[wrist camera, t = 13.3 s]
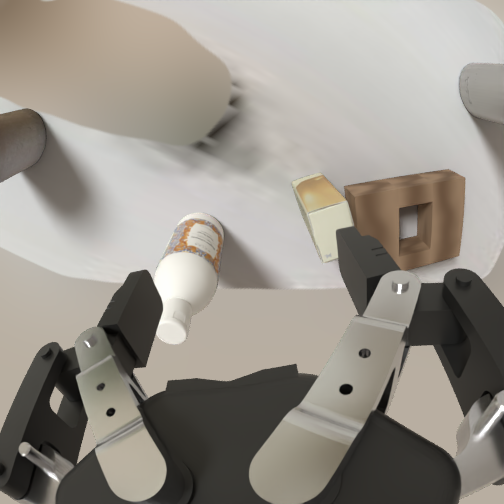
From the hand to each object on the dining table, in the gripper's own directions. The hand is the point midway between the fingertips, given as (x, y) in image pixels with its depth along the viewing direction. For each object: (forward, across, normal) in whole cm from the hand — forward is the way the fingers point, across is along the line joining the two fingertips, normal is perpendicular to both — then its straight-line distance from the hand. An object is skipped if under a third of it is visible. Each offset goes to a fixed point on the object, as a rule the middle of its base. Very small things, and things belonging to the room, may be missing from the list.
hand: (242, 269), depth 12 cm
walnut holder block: (+28, -21, +14) cm, 38 cm away
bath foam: (+28, +9, +10) cm, 31 cm away
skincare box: (+28, -7, +8) cm, 30 cm away
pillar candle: (+28, +32, -13) cm, 45 cm away
